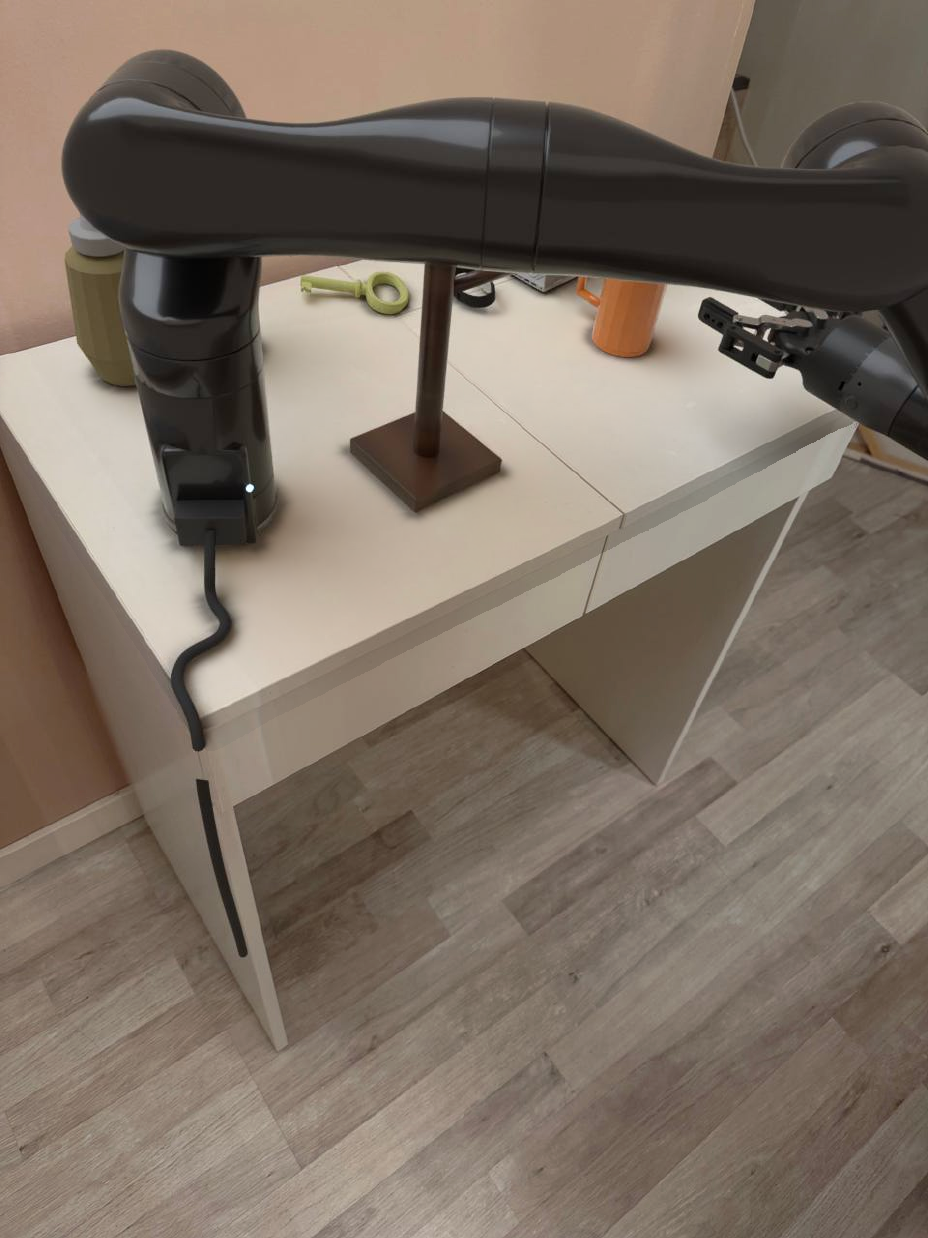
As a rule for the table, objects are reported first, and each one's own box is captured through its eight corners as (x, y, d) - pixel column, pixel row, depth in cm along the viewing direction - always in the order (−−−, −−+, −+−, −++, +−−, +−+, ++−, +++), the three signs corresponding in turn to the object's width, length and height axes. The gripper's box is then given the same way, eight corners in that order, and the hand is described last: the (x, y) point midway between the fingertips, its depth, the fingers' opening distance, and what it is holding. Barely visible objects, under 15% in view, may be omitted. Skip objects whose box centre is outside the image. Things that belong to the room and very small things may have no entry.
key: (294, 291, 97) (294, 273, 96) (397, 279, 101) (398, 262, 100) (313, 325, 93) (312, 307, 92) (419, 311, 97) (420, 294, 96)
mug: (660, 346, 97) (686, 261, 90) (621, 363, 94) (644, 276, 87) (591, 301, 102) (610, 217, 95) (552, 316, 99) (568, 230, 92)
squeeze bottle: (189, 373, 86) (157, 187, 72) (116, 405, 81) (68, 213, 68) (141, 338, 89) (103, 153, 75) (69, 366, 85) (14, 176, 71)
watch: (504, 308, 100) (508, 278, 97) (469, 315, 98) (472, 285, 95) (471, 275, 104) (474, 246, 101) (437, 282, 102) (439, 252, 99)
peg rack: (415, 512, 76) (434, 246, 58) (349, 451, 80) (347, 186, 62) (542, 451, 83) (595, 197, 65) (476, 398, 88) (507, 147, 69)
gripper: (934, 315, 77) (787, 239, 84) (845, 364, 70) (694, 277, 78) (895, 387, 83) (760, 310, 90) (809, 438, 76) (671, 350, 83)
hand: (730, 294), depth 84 cm, fingers open, 8 cm apart
